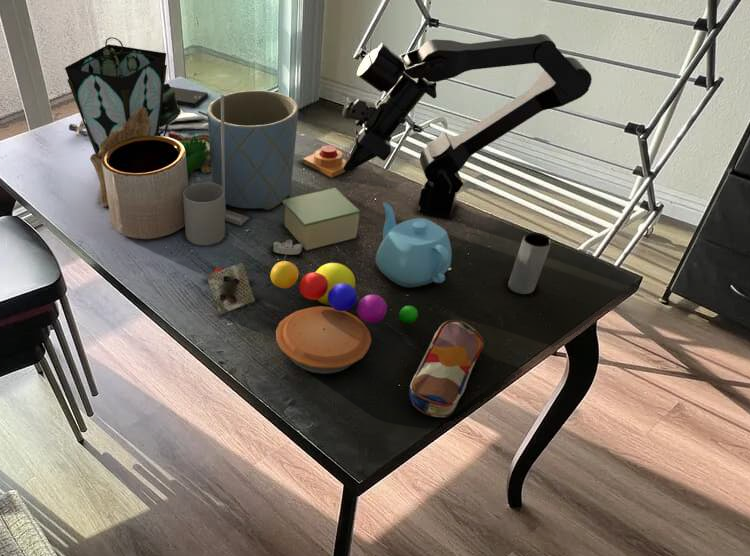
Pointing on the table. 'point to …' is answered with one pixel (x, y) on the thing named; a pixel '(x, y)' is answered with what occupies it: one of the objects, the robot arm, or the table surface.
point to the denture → (174, 135)
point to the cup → (204, 213)
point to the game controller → (287, 248)
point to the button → (328, 151)
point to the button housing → (326, 163)
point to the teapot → (413, 251)
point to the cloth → (188, 122)
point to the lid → (320, 207)
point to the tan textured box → (230, 288)
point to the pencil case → (445, 369)
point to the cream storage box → (322, 230)
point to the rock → (132, 128)
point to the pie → (323, 339)
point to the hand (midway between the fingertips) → (345, 170)
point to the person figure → (78, 128)
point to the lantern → (117, 88)
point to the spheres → (336, 290)
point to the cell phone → (189, 96)
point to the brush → (228, 216)
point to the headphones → (168, 108)
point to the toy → (194, 156)
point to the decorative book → (205, 138)
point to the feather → (180, 129)
